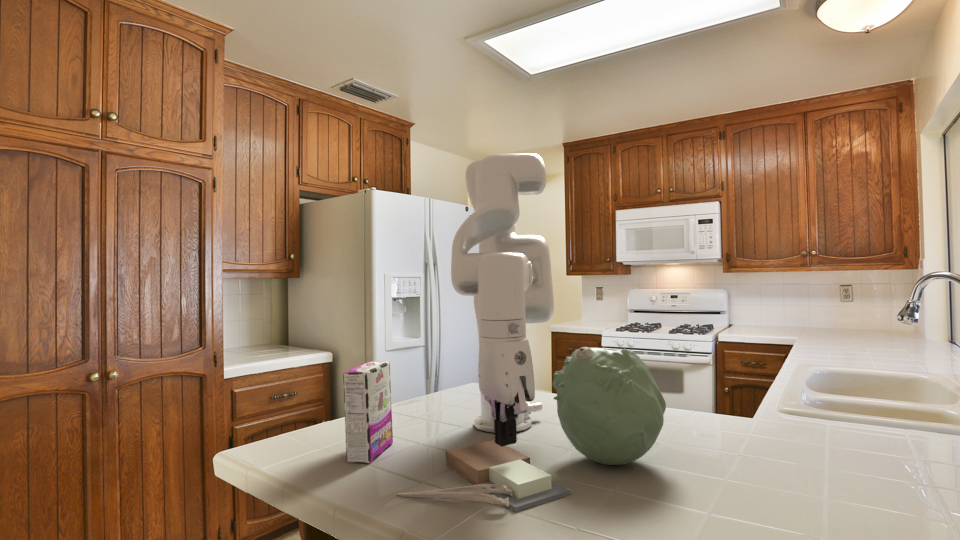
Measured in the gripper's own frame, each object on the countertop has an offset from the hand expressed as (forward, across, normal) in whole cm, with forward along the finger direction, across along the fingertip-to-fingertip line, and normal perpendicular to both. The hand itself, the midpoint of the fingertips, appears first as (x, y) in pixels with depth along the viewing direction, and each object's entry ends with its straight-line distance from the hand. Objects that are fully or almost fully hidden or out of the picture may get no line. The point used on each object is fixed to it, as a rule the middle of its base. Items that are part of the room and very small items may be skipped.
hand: (505, 443), depth 80 cm
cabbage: (+6, -4, -19) cm, 20 cm away
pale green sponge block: (+4, -4, 0) cm, 6 cm away
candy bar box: (+6, +25, +14) cm, 29 cm away
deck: (+6, +5, 0) cm, 8 cm away
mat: (+6, -5, 0) cm, 8 cm away
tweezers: (+5, -2, +11) cm, 12 cm away
